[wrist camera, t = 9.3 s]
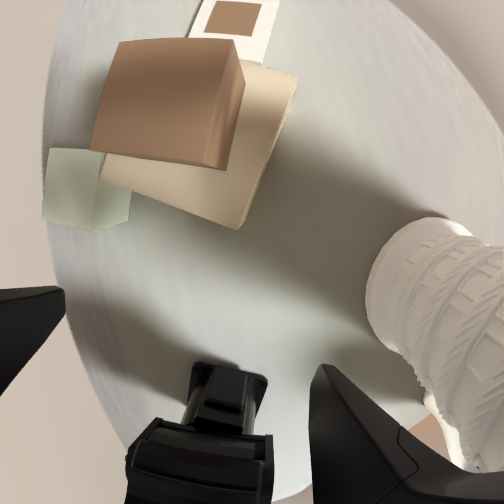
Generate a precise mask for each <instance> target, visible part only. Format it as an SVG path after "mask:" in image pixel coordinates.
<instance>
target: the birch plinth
mask: <svg viewBox="0 0 504 504" xmlns="http://www.w3.org/2000/svg"><path fill="white" fill-rule="evenodd" d="M239 61H240V65H241V68H242V72H243V75H244V79H245V83H246V85H245V89H244V93H243V97H242V102H241V106H240V110H239V115H238V119H237V124H236V128H235V133H234V137H233V142H232V146H231V151H230V156H229V161H228V166H227V171H222V170H216V169H210V168H204V167H198V166H191V165H185V164H178V163H170V162H163V161H155V160H146V159H139V158H133V157H127V156H121V155H115V154H109V153H107V155H106V158H105V161H104V165H103V168H102V171H101V175H100V179H102V180H105V181H108V182H111V183H113V184H116V185H119V186H121V187H124V188H127V189H129V190H132V191H135V192H137V193H140V194H142V195H145V196H148V197H150V198H153V199H156V200H158V201H161V202H163V203H166V204H169V205H171V206H174V207H177V208H179V209H182V210H184V211H187V212H189V213H192V214H195V215H197V216H200V217H202V218H205V219H208V220H210V221H213V222H215V223H218V224H220V225H223V226H225V227H228V228H230V229H233V230H236V231H237V230H238V229H239V227H240V226H241V225H242V224H243V223H244V221H245V220H246V217H247V215H248V212H249V209H250V207H251V204H252V202H253V199H254V197H255V194H256V192H257V189H258V187H259V184H260V182H261V179H262V177H263V174H264V172H265V169H266V167H267V164H268V162H269V159H270V157H271V154H272V152H273V149H274V147H275V144H276V142H277V139H278V137H279V134H280V132H281V130H282V127H283V125H284V122H285V120H286V117H287V115H288V113H289V110H290V108H291V105H292V103H293V99H294V94H295V90H296V86H297V82H298V78H295V77H293V76H290V75H287V74H284V73H281V72H278V71H275V70H272V69H269V68H266V67H262V66H259V65H255V64H252V63H248V62H245V61H241V60H239Z"/></svg>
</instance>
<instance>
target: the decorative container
mask: <svg viewBox="0 0 504 504" xmlns="http://www.w3.org/2000/svg"><path fill="white" fill-rule="evenodd" d="M365 306H366V312H367V318H368V321H369V323H370V325H371V327H372V329H373V331H374V333H375V334H376V336H377V337H378V339H379V340H380V341H381V342H382V343H383V344H384V345H385V346H386V347H387V348H388V349H390V350H392V351H394V352H396V353H398V354H401V355H403V359H405V360H407V362H408V363H409V364H411V365H412V366H413V368H414V370H415V371H414V372H415V374H416V375H417V377H418V378H417V380H418V381H421V386H424V387H425V388H426V390H427V391H429V392H430V393H431V394H432V395H434V398H435V402H436V407H437V408H438V410H439V412H438V413H439V415H441V414H442V419H445V421H446V423H447V424H449V425H450V426H451V427H452V428H455V429H457V430H458V432H459V443H460V447H461V449H462V450H463V451H462V455H463V456H464V459H465V460H468V461H469V463H470V464H472V465H473V466H475V467H477V466H478V467H479V469H480V471H481V473H488V472H498V471H504V246H498V245H488V244H486V243H485V242H484V241H482V240H481V239H479V238H476V237H474V236H473V235H472V234H471V233H470V232H469V231H468V230H467V229H466V228H465V227H464V226H462V225H461V224H459V223H456V222H454V221H451V220H449V219H445V218H441V217H425V218H422V219H419V220H416V221H413V222H410V223H409V224H407V225H406V226H404V227H403V228H401V229H400V230H398V231H397V232H395V234H394V235H393V236H392V237H391V238H390V239H389V240H388V241H387V243H386V244H385V245H384V246H383V247H382V249H381V251H380V252H379V254H378V256H377V258H376V259H375V261H374V263H373V265H372V268H371V271H370V274H369V277H368V281H367V284H366V295H365Z"/></svg>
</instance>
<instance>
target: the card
mask: <svg viewBox="0 0 504 504" xmlns="http://www.w3.org/2000/svg"><path fill="white" fill-rule="evenodd" d="M279 3H280V0H204V1H203V3H202V5H201V8H200V10H199V12H198V14H197V17H196V19H195V22H194V24H193V26H192V29H191V31H190V34H189V36H188V38H221V39H233V40H234V44H235V47H236V51H237V54H238V58H239V60H241V61H245V62H248V63H253V64H259V65H262V61H263V57H264V54H265V50H266V47H267V43H268V40H269V36H270V33H271V30H272V26H273V23H274V19H275V16H276V13H277V9H278V6H279Z"/></svg>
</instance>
